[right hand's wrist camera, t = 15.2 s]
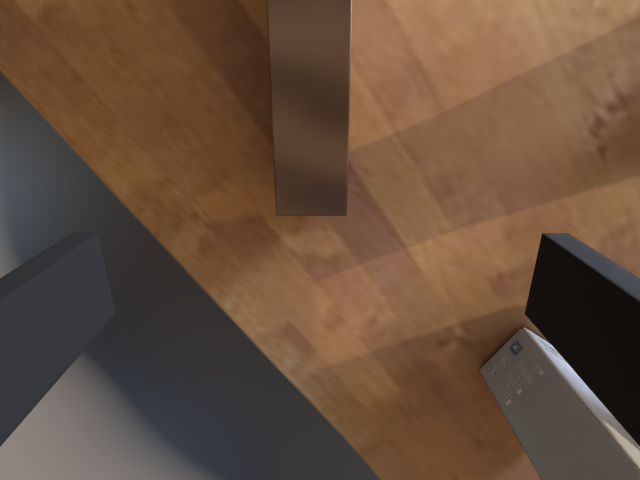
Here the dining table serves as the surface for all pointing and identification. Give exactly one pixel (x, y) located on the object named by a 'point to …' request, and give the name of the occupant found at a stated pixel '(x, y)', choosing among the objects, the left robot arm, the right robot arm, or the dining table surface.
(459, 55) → the dining table surface
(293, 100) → the beam
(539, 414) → the hard drive box
